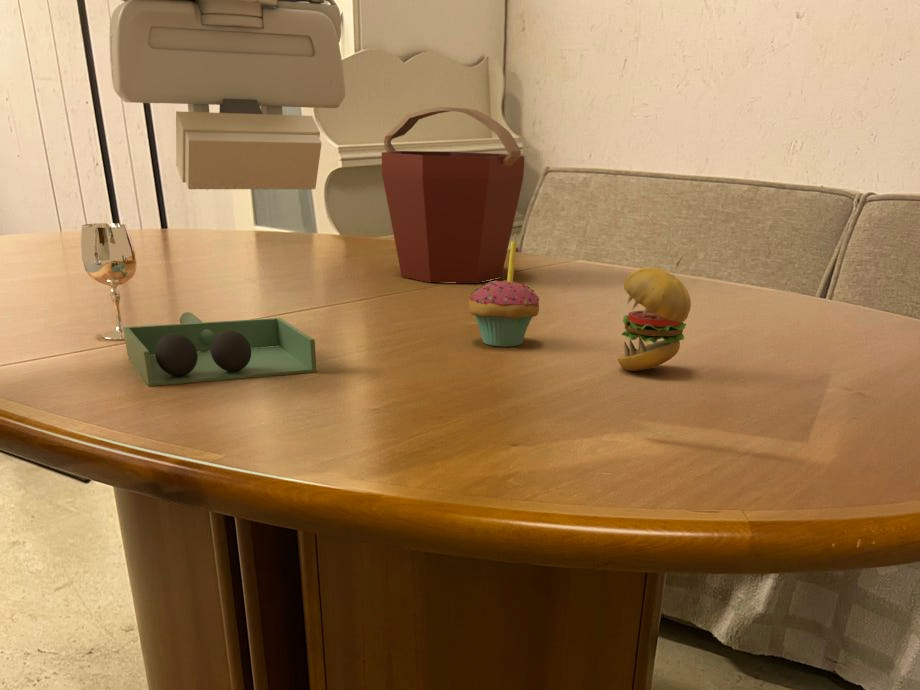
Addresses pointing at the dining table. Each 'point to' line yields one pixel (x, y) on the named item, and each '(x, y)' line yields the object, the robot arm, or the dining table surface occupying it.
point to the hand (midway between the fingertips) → (240, 163)
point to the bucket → (452, 205)
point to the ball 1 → (176, 355)
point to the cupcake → (504, 308)
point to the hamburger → (654, 317)
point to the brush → (246, 148)
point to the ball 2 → (231, 351)
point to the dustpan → (283, 358)
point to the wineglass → (109, 261)
